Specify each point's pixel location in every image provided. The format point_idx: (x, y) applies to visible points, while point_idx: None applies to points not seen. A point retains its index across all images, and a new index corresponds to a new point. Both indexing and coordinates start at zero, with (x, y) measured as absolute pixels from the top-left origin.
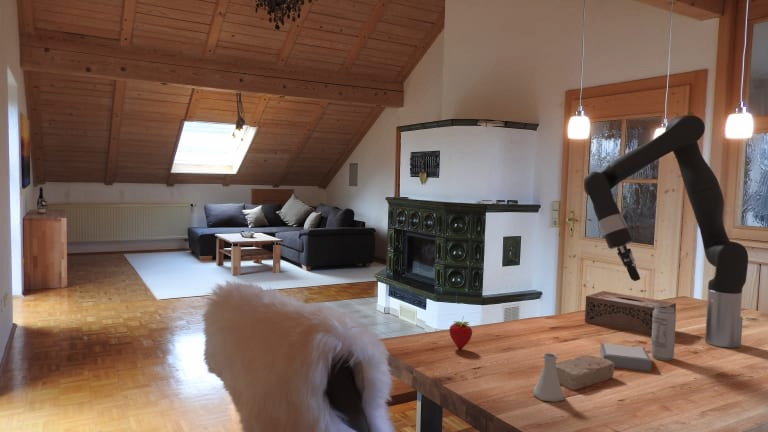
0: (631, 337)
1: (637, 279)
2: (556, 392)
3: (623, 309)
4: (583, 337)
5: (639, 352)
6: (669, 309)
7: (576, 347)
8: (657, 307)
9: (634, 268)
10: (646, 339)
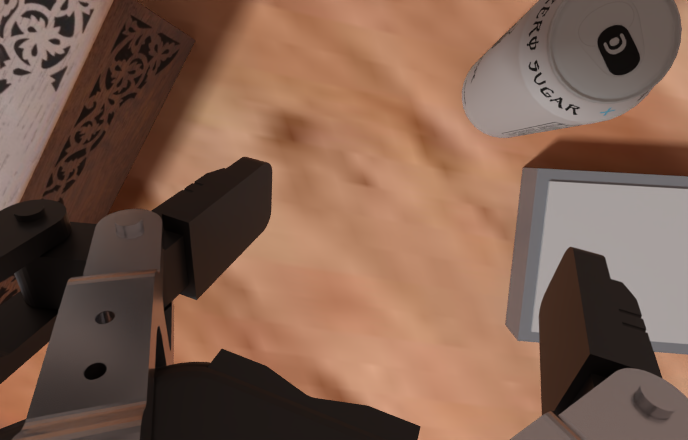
0: (230, 162)
1: (268, 189)
2: None
3: (56, 186)
4: (301, 356)
5: (631, 207)
6: (678, 16)
7: (455, 400)
8: (622, 93)
9: (626, 344)
10: (239, 103)
